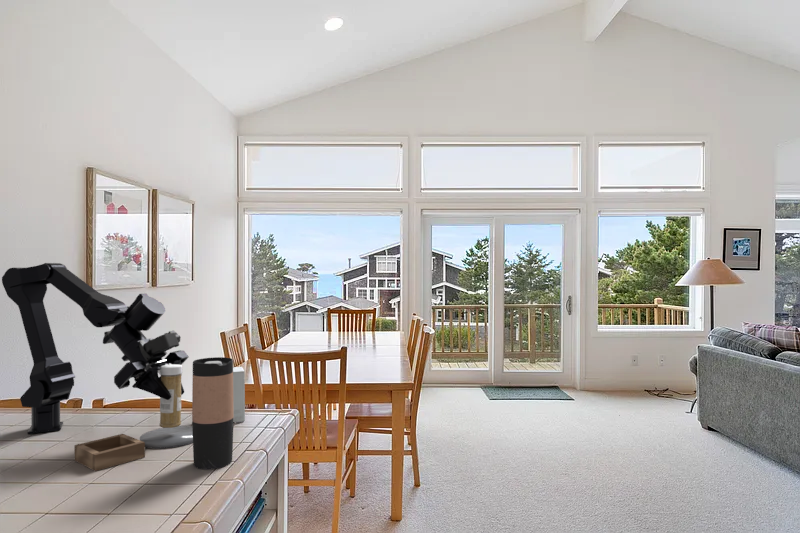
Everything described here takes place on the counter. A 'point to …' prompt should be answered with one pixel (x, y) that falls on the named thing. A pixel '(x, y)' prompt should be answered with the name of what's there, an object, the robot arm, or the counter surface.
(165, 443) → the slate plate
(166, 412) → the sprinkles bottle
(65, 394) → the robot arm
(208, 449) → the travel mug
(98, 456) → the walnut socket
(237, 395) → the supplement box
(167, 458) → the counter surface
